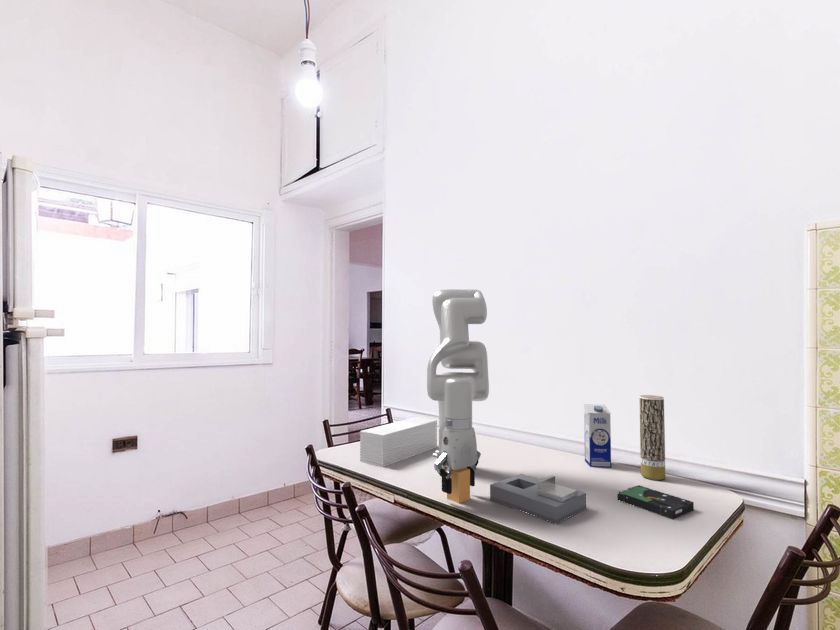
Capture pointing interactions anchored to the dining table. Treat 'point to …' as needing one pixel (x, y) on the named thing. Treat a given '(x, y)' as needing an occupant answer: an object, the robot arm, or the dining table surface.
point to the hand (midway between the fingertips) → (458, 488)
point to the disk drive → (656, 501)
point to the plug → (460, 485)
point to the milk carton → (597, 435)
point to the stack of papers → (397, 441)
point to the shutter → (554, 490)
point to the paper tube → (652, 437)
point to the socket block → (534, 499)
